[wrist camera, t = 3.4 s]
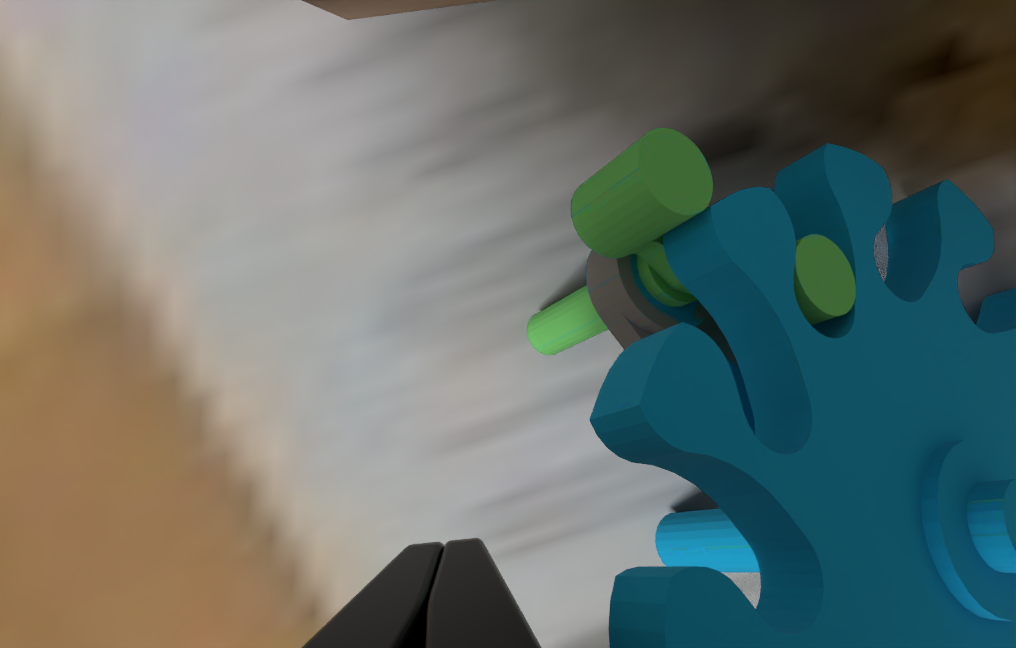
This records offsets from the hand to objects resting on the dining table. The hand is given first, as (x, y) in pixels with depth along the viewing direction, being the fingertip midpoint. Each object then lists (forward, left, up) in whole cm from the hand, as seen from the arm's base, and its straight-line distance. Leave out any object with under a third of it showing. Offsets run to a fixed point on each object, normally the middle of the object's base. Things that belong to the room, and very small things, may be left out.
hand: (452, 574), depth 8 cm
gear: (0, -6, -5) cm, 7 cm away
